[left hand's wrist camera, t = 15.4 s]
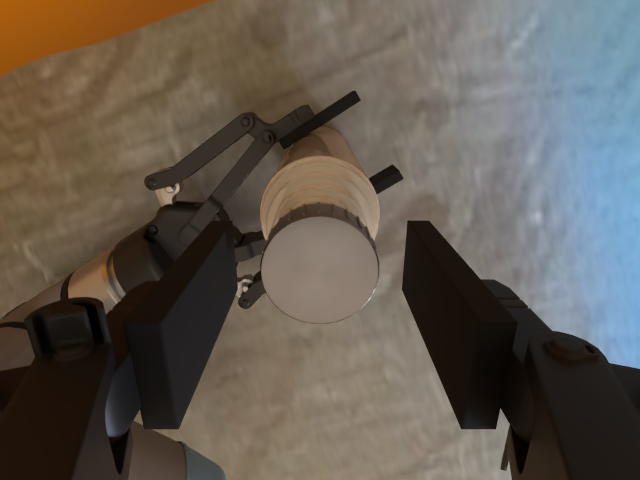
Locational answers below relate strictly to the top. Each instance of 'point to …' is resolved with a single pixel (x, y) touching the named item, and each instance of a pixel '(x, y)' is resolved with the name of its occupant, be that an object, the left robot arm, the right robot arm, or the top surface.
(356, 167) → the bottle
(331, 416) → the top surface
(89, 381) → the left robot arm
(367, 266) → the cap
